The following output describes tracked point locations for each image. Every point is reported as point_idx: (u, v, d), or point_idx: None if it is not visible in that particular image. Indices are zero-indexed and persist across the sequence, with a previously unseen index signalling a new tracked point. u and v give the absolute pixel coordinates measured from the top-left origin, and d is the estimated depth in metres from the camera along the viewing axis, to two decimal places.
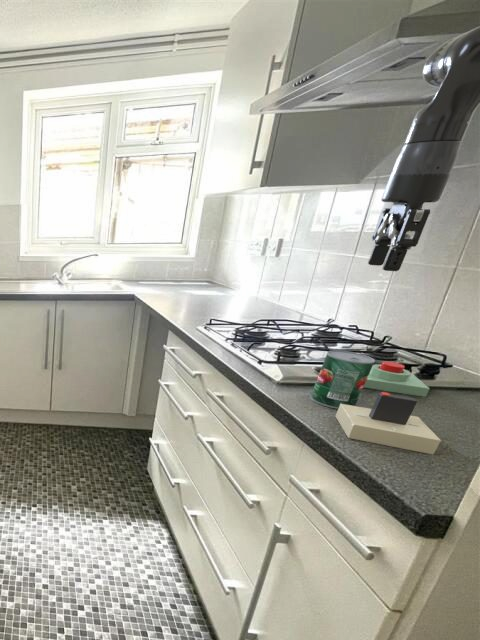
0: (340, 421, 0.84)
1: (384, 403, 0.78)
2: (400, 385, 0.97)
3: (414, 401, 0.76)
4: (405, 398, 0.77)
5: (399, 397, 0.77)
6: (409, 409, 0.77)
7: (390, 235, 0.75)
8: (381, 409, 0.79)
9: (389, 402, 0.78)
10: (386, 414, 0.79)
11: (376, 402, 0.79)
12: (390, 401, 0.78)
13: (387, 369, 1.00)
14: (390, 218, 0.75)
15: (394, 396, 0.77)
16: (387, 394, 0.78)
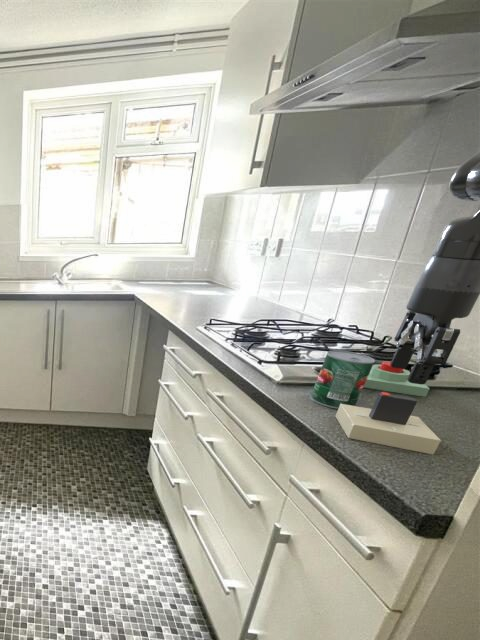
0: (340, 421, 0.84)
1: (384, 403, 0.78)
2: (400, 385, 0.97)
3: (414, 401, 0.76)
4: (405, 398, 0.77)
5: (399, 397, 0.77)
6: (409, 409, 0.77)
7: (416, 347, 0.71)
8: (381, 409, 0.79)
9: (389, 402, 0.78)
10: (386, 414, 0.79)
11: (376, 402, 0.79)
12: (390, 401, 0.78)
13: (387, 369, 1.00)
14: (416, 329, 0.72)
15: (394, 396, 0.77)
16: (387, 394, 0.78)
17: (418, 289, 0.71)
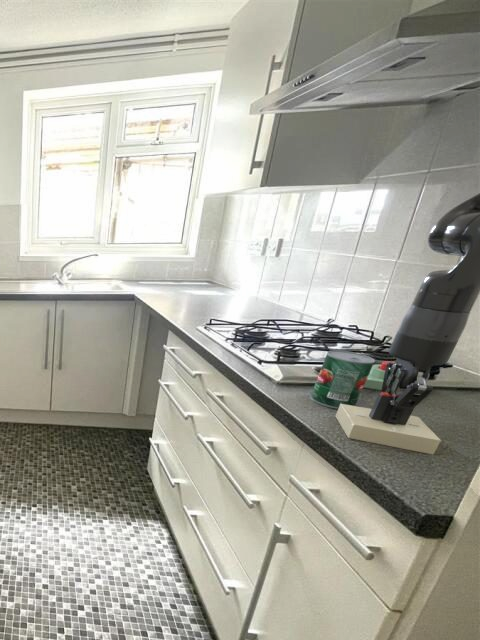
0: (340, 421, 0.84)
1: (384, 403, 0.78)
2: None
3: None
4: None
5: None
6: (409, 409, 0.77)
7: (392, 391, 0.76)
8: (381, 409, 0.79)
9: None
10: None
11: (376, 402, 0.79)
12: None
13: None
14: (397, 373, 0.75)
15: None
16: (387, 394, 0.78)
17: (399, 336, 0.74)
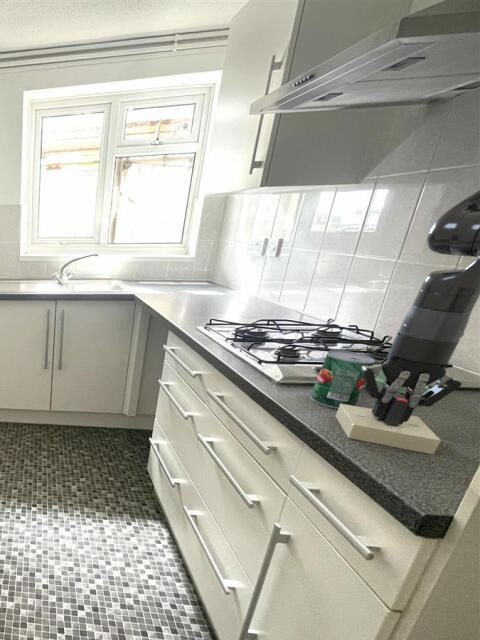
0: (340, 421, 0.84)
1: None
2: None
3: (398, 394, 0.79)
4: (397, 394, 0.78)
5: (399, 396, 0.77)
6: None
7: (417, 395, 0.75)
8: None
9: None
10: None
11: (398, 410, 0.76)
12: None
13: None
14: (425, 377, 0.73)
15: (400, 398, 0.77)
16: (403, 399, 0.76)
17: (441, 344, 0.69)
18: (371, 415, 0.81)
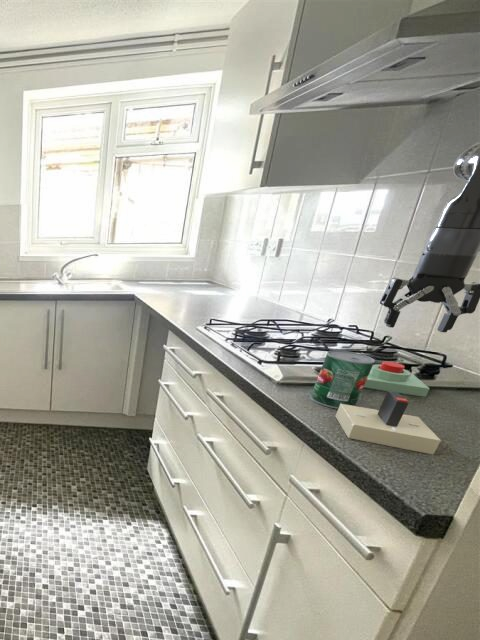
0: (340, 421, 0.84)
1: None
2: (400, 385, 0.97)
3: (398, 394, 0.79)
4: (397, 394, 0.78)
5: (399, 396, 0.77)
6: None
7: (453, 305, 0.86)
8: None
9: None
10: None
11: (398, 410, 0.76)
12: None
13: (387, 369, 1.00)
14: (446, 290, 0.85)
15: (400, 398, 0.77)
16: (403, 399, 0.76)
17: (462, 258, 0.81)
18: (371, 415, 0.81)
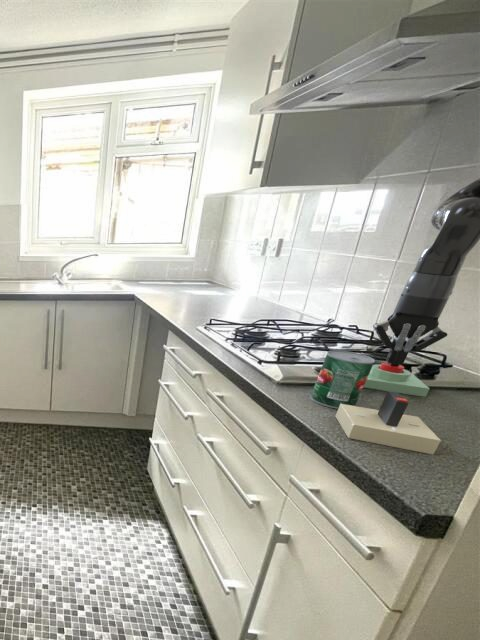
0: (340, 421, 0.84)
1: None
2: (400, 385, 0.97)
3: (398, 394, 0.79)
4: (397, 394, 0.78)
5: (399, 396, 0.77)
6: None
7: (412, 342, 0.96)
8: None
9: None
10: None
11: (398, 410, 0.76)
12: None
13: (387, 370, 1.00)
14: (422, 328, 0.95)
15: (400, 398, 0.77)
16: (403, 399, 0.76)
17: (435, 301, 0.91)
18: (371, 415, 0.81)
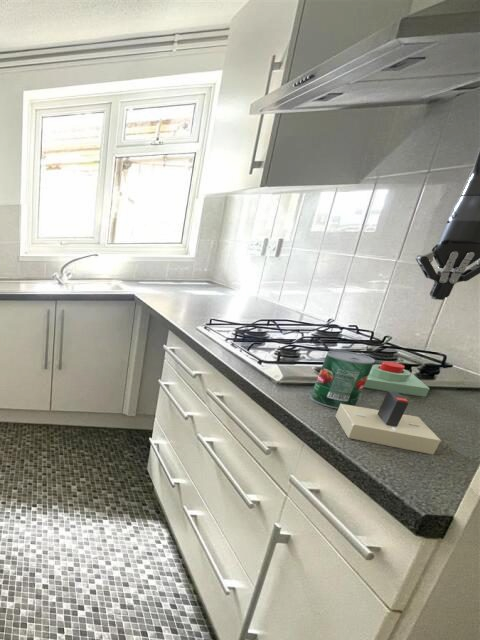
0: (340, 421, 0.84)
1: None
2: (400, 385, 0.97)
3: (398, 394, 0.79)
4: (397, 394, 0.78)
5: (399, 396, 0.77)
6: None
7: (459, 271, 0.92)
8: None
9: None
10: None
11: (398, 410, 0.76)
12: None
13: (387, 369, 1.00)
14: (470, 255, 0.90)
15: (400, 398, 0.77)
16: (403, 399, 0.76)
17: None
18: (371, 415, 0.81)
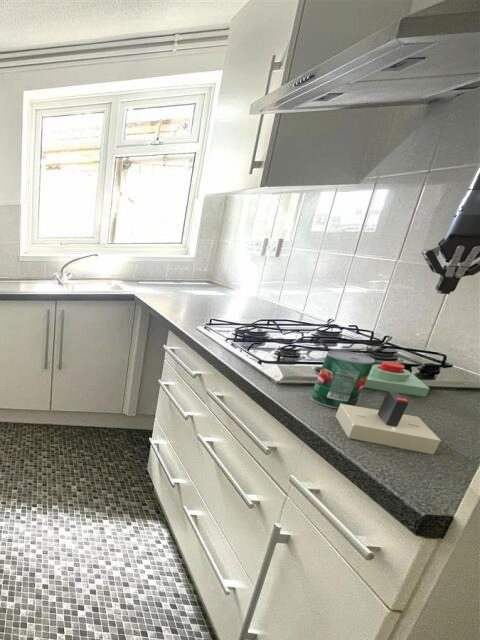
0: (340, 421, 0.84)
1: None
2: (400, 385, 0.97)
3: (398, 394, 0.79)
4: (397, 394, 0.78)
5: (399, 396, 0.77)
6: None
7: (465, 266, 0.92)
8: None
9: None
10: None
11: (398, 410, 0.76)
12: None
13: (387, 369, 1.00)
14: (477, 250, 0.90)
15: (400, 398, 0.77)
16: (403, 399, 0.76)
17: None
18: (371, 415, 0.81)
